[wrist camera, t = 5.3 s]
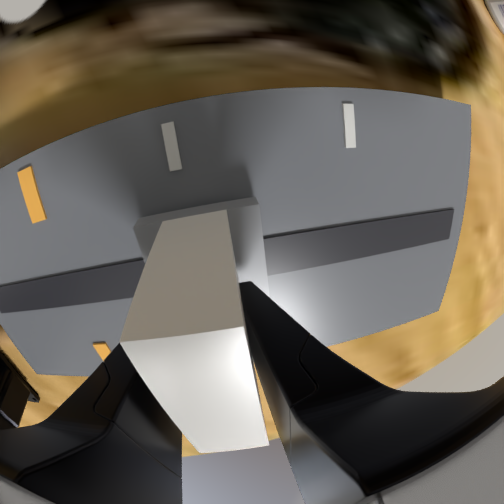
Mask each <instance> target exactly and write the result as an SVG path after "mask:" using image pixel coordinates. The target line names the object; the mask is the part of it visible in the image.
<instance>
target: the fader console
mask: <svg viewBox="0 0 504 504" xmlns="http://www.w3.org/2000/svg"><path fill="white" fill-rule="evenodd" d="M470 150H471V105H468V104H464V103H460V102H456V101H451V100H446V99H441V98H436V97H431V96H425V95H419V94H412V93H405V92H397V91H388V90H378V89H365V88H345V87H298V88H278V89H264V90H253V91H244V92H236V93H228V94H221V95H215V96H208V97H203V98H197V99H192V100H187V101H182V102H177V103H172V104H168V105H164V106H159V107H155V108H151V109H147V110H144V111H140V112H136V113H133V114H129V115H126V116H123V117H119V118H116V119H113V120H110V121H107V122H104V123H101V124H98V125H95V126H92V127H90V128H87V129H84V130H82V131H79V132H76V133H74V134H71V135H69V136H66V137H64V138H62V139H59V140H57V141H55V142H52V143H50V144H48V145H46V146H43V147H41V148H39V149H37V150H35V151H33V152H31V153H29V154H27V155H25V156H23V157H21V158H19V159H17V160H15V161H13V162H12V163H10V164H8V165H6V166H4V167H3V168H1V169H0V324H1V326H2V327H3V329H4V330H5V332H6V333H7V335H8V336H9V338H10V339H11V340H12V342H13V343H14V345H15V346H16V347H17V349H18V350H19V352H20V353H21V354H22V356H23V357H24V358H25V359H26V361H27V362H28V363H29V365H30V366H31V367H32V368H33V370H34V371H35V372H36V373H37V374H45V375H63V376H90V375H91V374H92V373H93V372H94V371H95V370H96V368H97V367H98V366H99V365H100V364H101V363H102V362H104V359H105V358H106V357H107V356H108V355H109V354H110V353H111V351H112V350H113V349H114V348H115V347H116V346H117V345H118V343H119V341H120V338H121V335H122V331H123V328H124V325H125V322H126V318H127V315H128V312H129V309H130V306H131V303H132V300H133V297H134V294H135V291H136V288H137V286H138V283H139V280H140V277H141V275H142V272H143V269H144V266H145V263H144V260H143V257H142V254H141V251H140V248H139V245H138V242H137V238H136V235H135V232H134V229H133V227H134V225H135V224H136V222H137V220H138V219H139V218H142V217H146V216H151V215H156V214H161V213H166V212H171V211H176V210H181V209H186V208H191V207H197V206H202V205H208V204H214V203H219V202H225V201H231V200H237V199H243V198H250V197H256V199H257V201H258V203H259V207H260V215H261V224H262V232H263V241H264V250H265V259H266V268H267V277H268V286H269V295H270V298H271V299H272V300H273V301H274V302H275V303H276V304H277V305H279V306H280V307H281V308H282V309H283V310H284V311H285V312H287V313H288V314H289V315H290V316H291V317H292V318H293V319H294V320H296V321H297V322H298V323H299V324H300V325H301V326H302V327H304V328H305V329H306V330H307V331H308V332H309V333H310V334H311V335H313V336H314V337H315V338H316V339H317V340H319V341H320V342H321V343H322V344H323V345H325V346H326V347H327V346H331V345H335V344H339V343H342V342H346V341H350V340H353V339H357V338H360V337H364V336H367V335H370V334H374V333H377V332H380V331H383V330H386V329H389V328H392V327H395V326H398V325H401V324H404V323H407V322H410V321H413V320H415V319H418V318H421V317H424V316H426V315H429V314H431V313H434V312H437V311H439V308H440V305H441V302H442V299H443V296H444V293H445V290H446V286H447V283H448V280H449V276H450V273H451V269H452V265H453V261H454V257H455V253H456V249H457V245H458V240H459V236H460V231H461V226H462V220H463V214H464V208H465V202H466V194H467V186H468V177H469V166H470ZM253 362H254V361H253Z"/></svg>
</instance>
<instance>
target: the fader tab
mask: <svg viewBox="0 0 504 504" xmlns="http://www.w3.org/2000/svg"><path fill="white" fill-rule="evenodd" d="M133 229H134V232H135V235H136V238H137V242H138V245H139V248H140V251H141V254H142V257H143V260H144V263H145V266H144V269H143V272H142V275H141V277H140V280H139V283H138V286H137V288H136V291H135V294H134V297H133V300H132V303H131V306H130V309H129V312H128V315H127V318H126V322H125V325H124V328H123V331H122V335H121V338H120V341H119V342H120V344H121V346H122V347H123V349H124V351H125V352H126V354H127V356H128V357H129V359H130V361H131V362H132V364H133V365H134V367H135V368H136V370H137V372H138V373H139V375H140V376H141V378H142V379H143V381H144V382H145V384H146V385H147V387H148V388H149V389H150V391H151V392H152V394H153V395H154V397H155V398H156V399H157V401H158V402H159V403H160V405H161V406H162V407H163V409H164V410H165V411H166V413H167V414H168V415H169V417H170V418H171V419H172V421H173V422H174V423H175V424H176V426H177V427H178V428H179V429H180V431H181V432H182V433H183V434H184V435H185V437H186V438H187V439H188V440H189V441H190V442H191V444H192V445H193V446H194V447H195V448H196V449H197V450H198V452H199V453H210V452H222V451H232V450H241V449H247V448H255V447H261V446H267V445H269V442H268V437H267V432H266V426H265V421H264V416H263V411H262V405H261V400H260V395H259V389H258V384H257V378H256V373H255V367H254V362H253V358H252V354H251V349H250V344H249V338H248V333H247V328H246V323H245V317H244V312H243V306H242V300H241V294H240V287H239V283H241V282H246V281H252V282H253V283H254V284H255V285H256V286H257V287H258V288H260V289H261V290H262V291H263V292H264V293H265V294H266V295H267V296H269V297H270V295H269V286H268V277H267V268H266V259H265V250H264V241H263V232H262V224H261V215H260V207H259V203H258V201H257V199H256V197H250V198H243V199H237V200H231V201H225V202H219V203H214V204H208V205H202V206H197V207H191V208H186V209H181V210H176V211H171V212H166V213H161V214H156V215H151V216H146V217H142V218H139V219H138V220H137V222H136V224H135V225H134V227H133Z"/></svg>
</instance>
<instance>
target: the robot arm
mask: <svg viewBox="0 0 504 504" xmlns="http://www.w3.org/2000/svg"><path fill="white" fill-rule="evenodd" d="M239 287H240V294H241V300H242V306H243V312H244V317H245V323H246V328H247V333H248V338H249V344H250V349H251V354H252V358H253V361H254V364H255V367H256V370H257V373H258V376H259V379H260V382H261V385H262V388H263V391H264V394H265V396H266V399H267V402H268V405H269V408H270V411H271V414H272V417H273V419H274V422H275V425H276V428H277V431H278V433H279V436H280V439H281V442H282V444H283V447H284V450H285V452H286V455H287V458H288V460H289V463H290V466H291V469H292V471H293V474H294V476H295V479H296V482H297V484H298V487H299V490H300V492H301V495H302V497H303V500H304V502H305V504H504V377H502V378H501V379H500V380H498V381H497V382H496V383H495V384H493V385H491V386H490V387H488V388H485V389H482V390H478V391H473V392H455V393H454V392H451V393H450V392H448V393H446V392H445V393H444V392H442V393H441V392H439V393H437V392H408V391H400V390H396V389H393V388H390V387H388V386H386V385H384V384H382V383H380V382H378V381H377V380H375V379H374V378H372V377H370V376H369V375H367V374H366V373H364V372H362V371H361V370H359V369H358V368H356V367H355V366H353V365H351V364H350V363H348V362H347V361H345V360H344V359H342V358H341V357H339V356H338V355H337V354H335V353H334V352H332V351H331V350H330V349H328V348H327V347H326V346H325V345H323V344H322V343H321V342H320V341H319V340H317V339H316V338H315V337H314V336H313V335H311V334H310V333H309V332H308V331H307V330H306V329H305V328H304V327H302V326H301V325H300V324H299V323H298V322H297V321H296V320H294V319H293V318H292V317H291V316H290V315H289V314H288V313H287V312H285V311H284V310H283V309H282V308H281V307H280V306H279V305H277V304H276V303H275V302H274V301H273V300H272V299H271V298H270V297H269V296H267V295H266V294H265V293H264V292H263V291H262V290H261V289H260V288H258V287H257V286H256V285H255V284H254V283H253V282H252V281H246V282H241V283H239ZM39 400H40V397H39V396H38V395H37V394H36V393H35V392H34V391H33V390H32V389H31V388H30V387H29V385H28V384H27V383H26V382H25V381H24V380H23V379H22V377H21V376H20V375H19V374H18V373H17V372H16V370H15V369H14V368H13V367H12V365H11V364H10V363H9V362H8V360H7V359H6V358H5V357H4V355H3V354H2V353H1V352H0V504H182V479H181V477H182V432H181V431H180V429H179V428H178V427H177V426H176V424H175V423H174V422H173V421H172V419H171V418H170V417H169V415H168V414H167V413H166V411H165V410H164V409H163V407H162V406H161V405H160V403H159V402H158V401H157V399H156V398H155V397H154V395H153V394H152V392H151V391H150V389H149V388H148V387H147V385H146V384H145V382H144V381H143V379H142V378H141V376H140V375H139V373H138V372H137V370H136V368H135V367H134V365H133V364H132V362H131V361H130V359H129V357H128V356H127V354H126V352H125V351H124V349H123V347H122V346H121V344H120V342H119V343H118V345H117V346H116V347H115V348H114V349H113V350H112V351H111V353H110V354H109V355H108V356H107V357H106V358H105V359H104V362H102V363H101V364H100V365H99V366H98V367H97V368H96V370H95V371H94V372H93V373H92V374H91V375H90V376H89V377H88V379H87V380H86V381H85V382H84V383H83V384H82V385H81V386H80V387H79V388H78V389H77V390H76V391H75V392H74V393H73V394H72V395H71V396H70V397H69V398H68V399H67V400H66V401H65V402H64V403H63V404H62V405H61V406H60V407H59V408H58V409H57V410H56V411H55V412H54V413H53V414H52V415H50V416H49V417H48V418H47V419H46V420H44V421H42V422H40V423H38V424H35V425H32V426H26V427H20V428H17V427H19V425H20V421H21V418H22V415H23V412H24V409H25V407H26V404H27V401H32V402H39Z"/></svg>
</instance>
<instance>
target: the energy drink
mask: <svg viewBox="0 0 504 504" xmlns="http://www.w3.org/2000/svg"><path fill="white" fill-rule="evenodd" d="M484 1H485V4H486V6H487V9H488V11H489V13H490V15H491V17H492V19H493V20H494V22H495V24H496V25H497V27H498V28H499V30H500V31H501V32H502V33H503V34H504V0H484Z"/></svg>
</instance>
